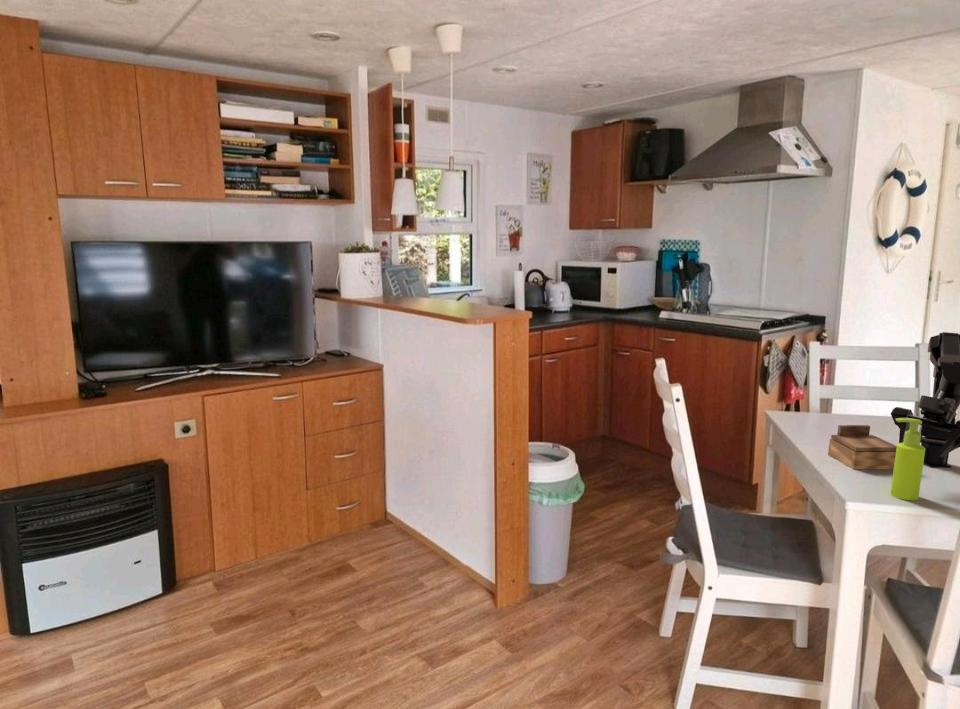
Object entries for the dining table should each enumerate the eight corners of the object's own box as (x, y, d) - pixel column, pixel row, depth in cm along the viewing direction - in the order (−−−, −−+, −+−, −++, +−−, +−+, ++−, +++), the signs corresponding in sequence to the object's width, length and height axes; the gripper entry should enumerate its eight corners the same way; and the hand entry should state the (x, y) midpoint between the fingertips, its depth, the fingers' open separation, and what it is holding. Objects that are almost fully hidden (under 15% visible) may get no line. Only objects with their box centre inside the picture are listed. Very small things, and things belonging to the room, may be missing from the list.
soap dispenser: (883, 489, 166) (893, 414, 162) (914, 493, 163) (925, 417, 159) (888, 497, 160) (898, 420, 156) (921, 502, 158) (932, 424, 154)
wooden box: (869, 454, 192) (871, 438, 191) (897, 468, 181) (900, 452, 180) (827, 454, 192) (829, 438, 191) (853, 469, 180) (855, 452, 179)
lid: (871, 437, 191) (873, 424, 190) (899, 450, 180) (900, 437, 179) (831, 438, 190) (832, 425, 190) (855, 450, 179) (857, 437, 178)
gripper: (898, 377, 170) (872, 423, 166) (982, 392, 155) (955, 443, 151) (909, 401, 176) (883, 447, 172) (990, 418, 160) (964, 468, 157)
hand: (919, 450), depth 163 cm, fingers open, 9 cm apart
